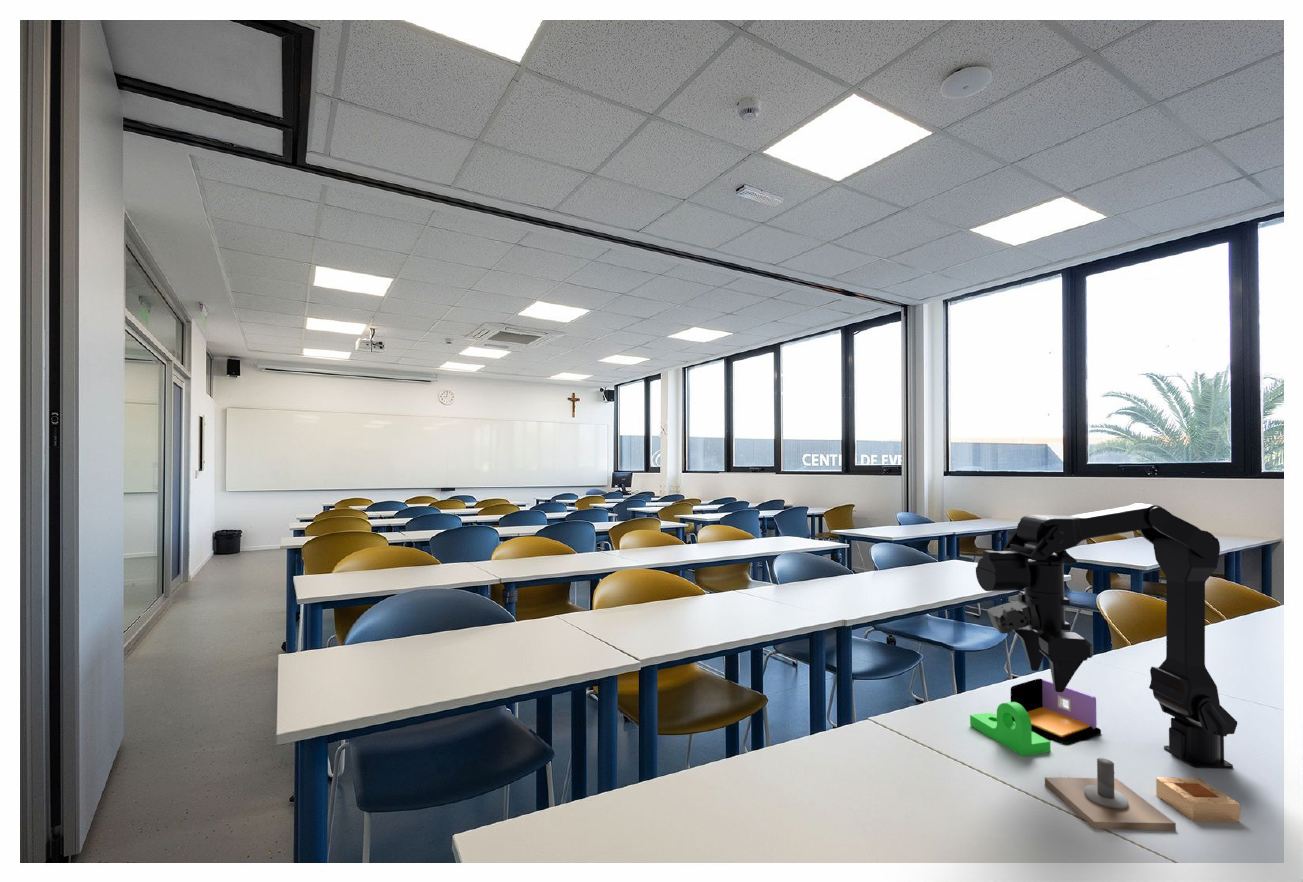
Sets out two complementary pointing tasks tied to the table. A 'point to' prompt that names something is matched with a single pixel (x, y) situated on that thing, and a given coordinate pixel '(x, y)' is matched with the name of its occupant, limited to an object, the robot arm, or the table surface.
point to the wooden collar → (1197, 799)
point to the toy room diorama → (1057, 711)
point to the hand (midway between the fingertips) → (1046, 680)
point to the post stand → (1108, 801)
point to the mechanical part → (1011, 729)
